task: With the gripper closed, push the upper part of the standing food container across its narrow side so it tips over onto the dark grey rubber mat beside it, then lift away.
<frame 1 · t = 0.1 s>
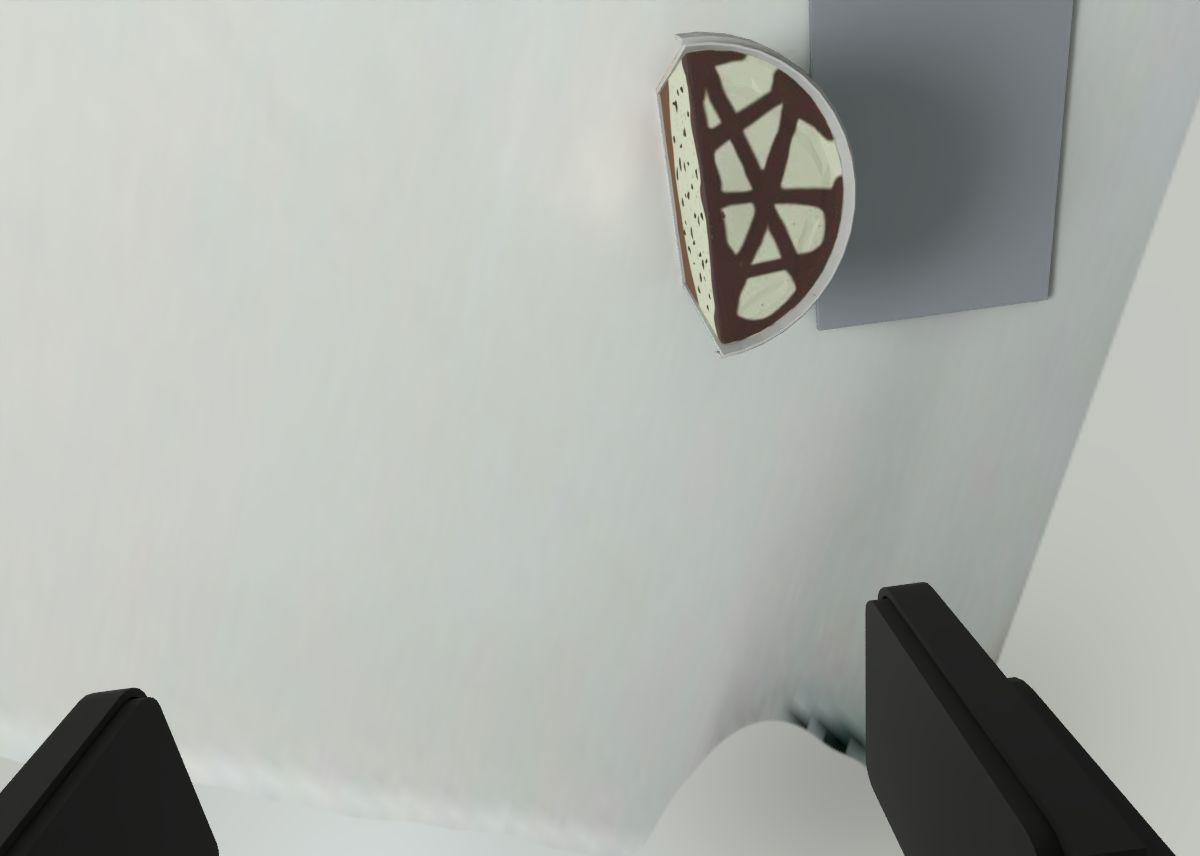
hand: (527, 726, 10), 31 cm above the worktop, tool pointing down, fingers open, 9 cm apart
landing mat: (934, 153, 37), on the worktop
food container: (730, 180, 38), on the worktop
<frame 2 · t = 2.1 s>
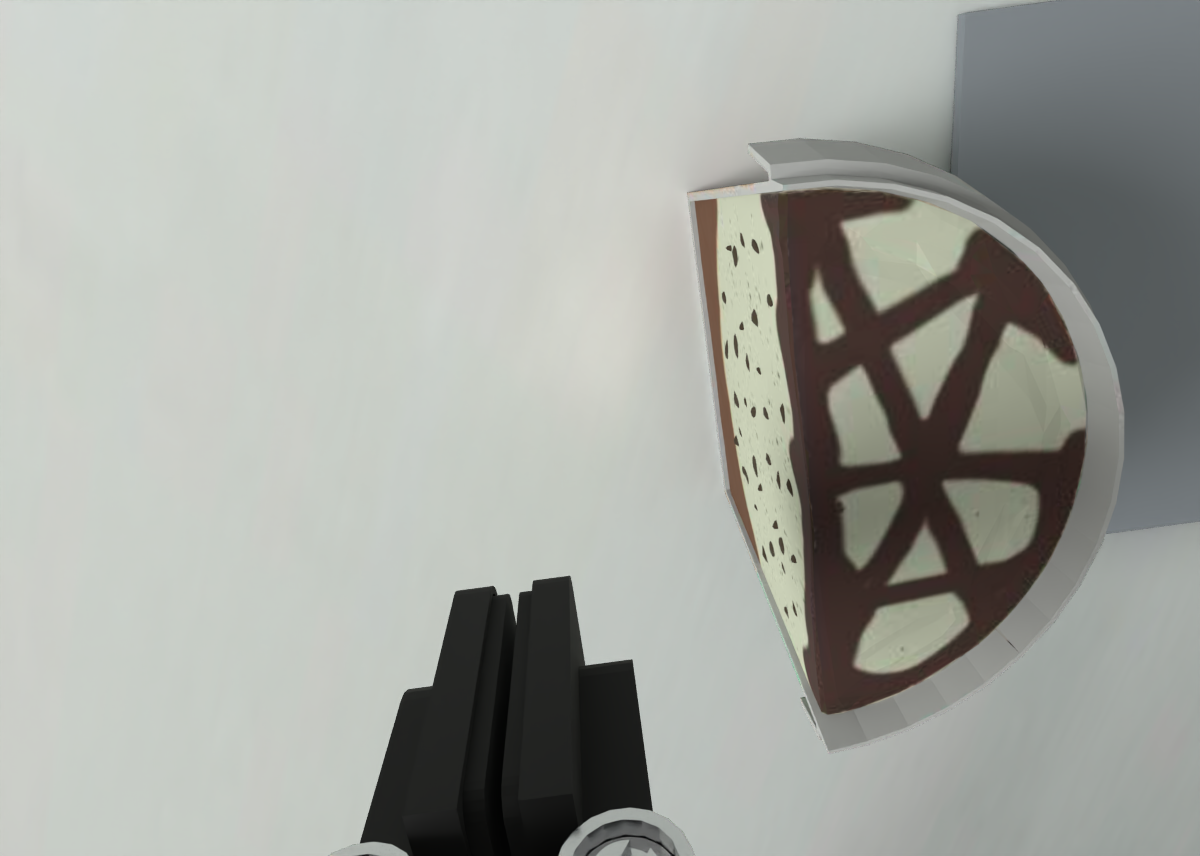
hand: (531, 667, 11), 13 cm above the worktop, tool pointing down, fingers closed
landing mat: (1145, 290, 23), on the worktop
food container: (807, 333, 23), on the worktop
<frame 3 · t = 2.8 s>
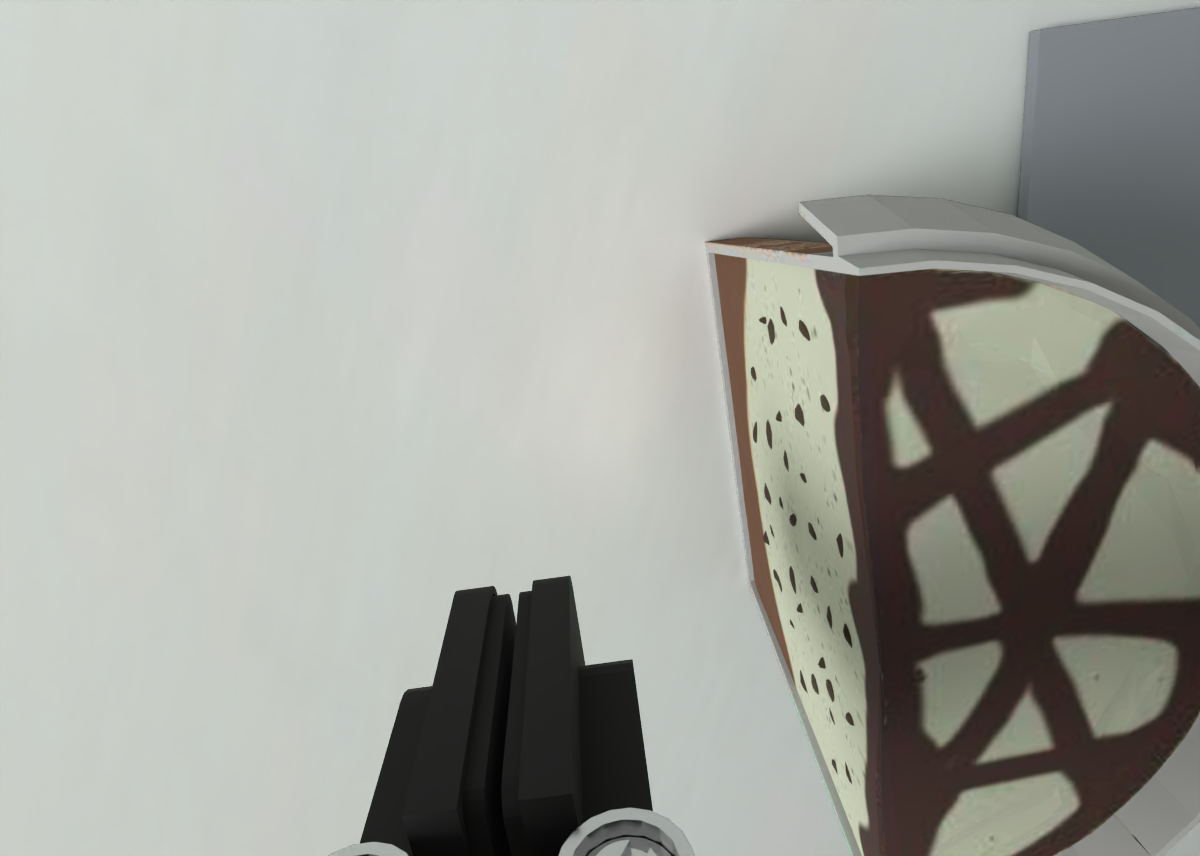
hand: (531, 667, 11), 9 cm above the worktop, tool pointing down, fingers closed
food container: (845, 402, 20), on the worktop
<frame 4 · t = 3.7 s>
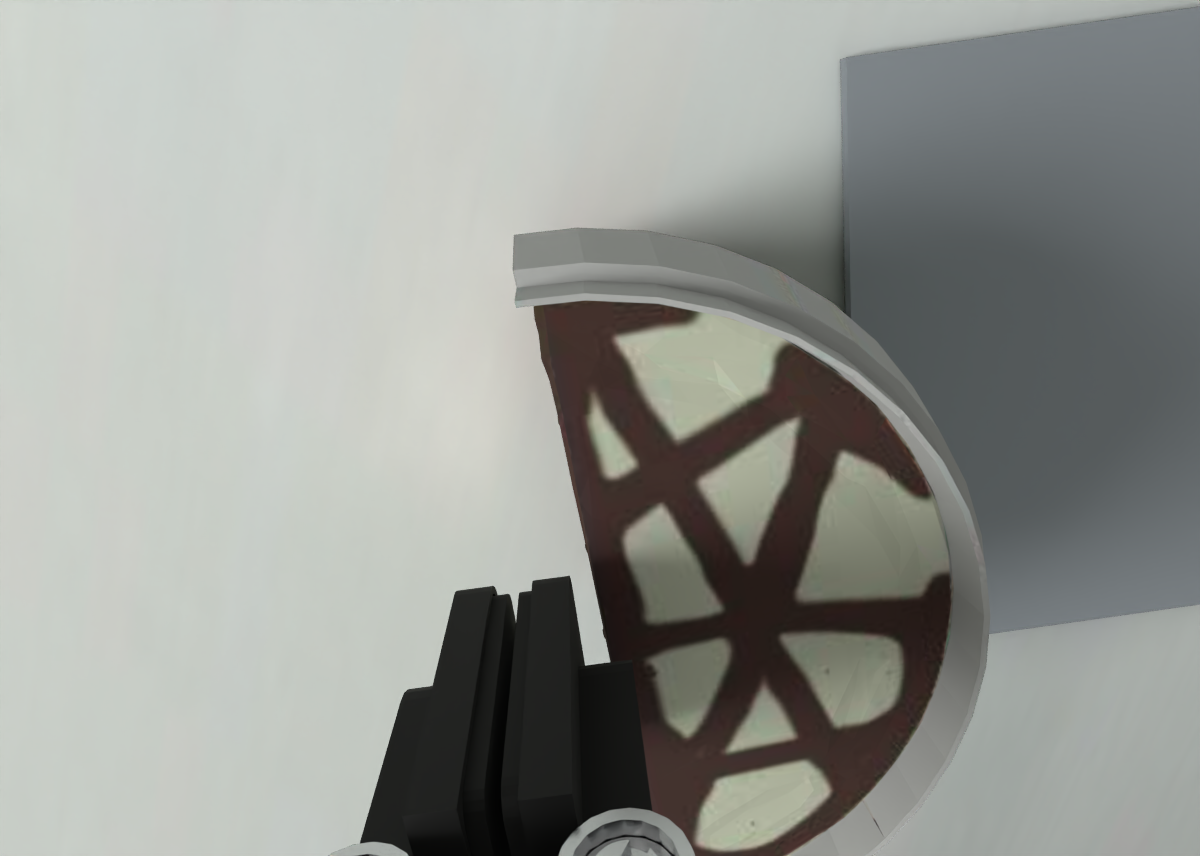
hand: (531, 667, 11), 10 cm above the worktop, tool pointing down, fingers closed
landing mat: (1073, 360, 20), on the worktop
food container: (695, 411, 20), on the worktop, touching gripper
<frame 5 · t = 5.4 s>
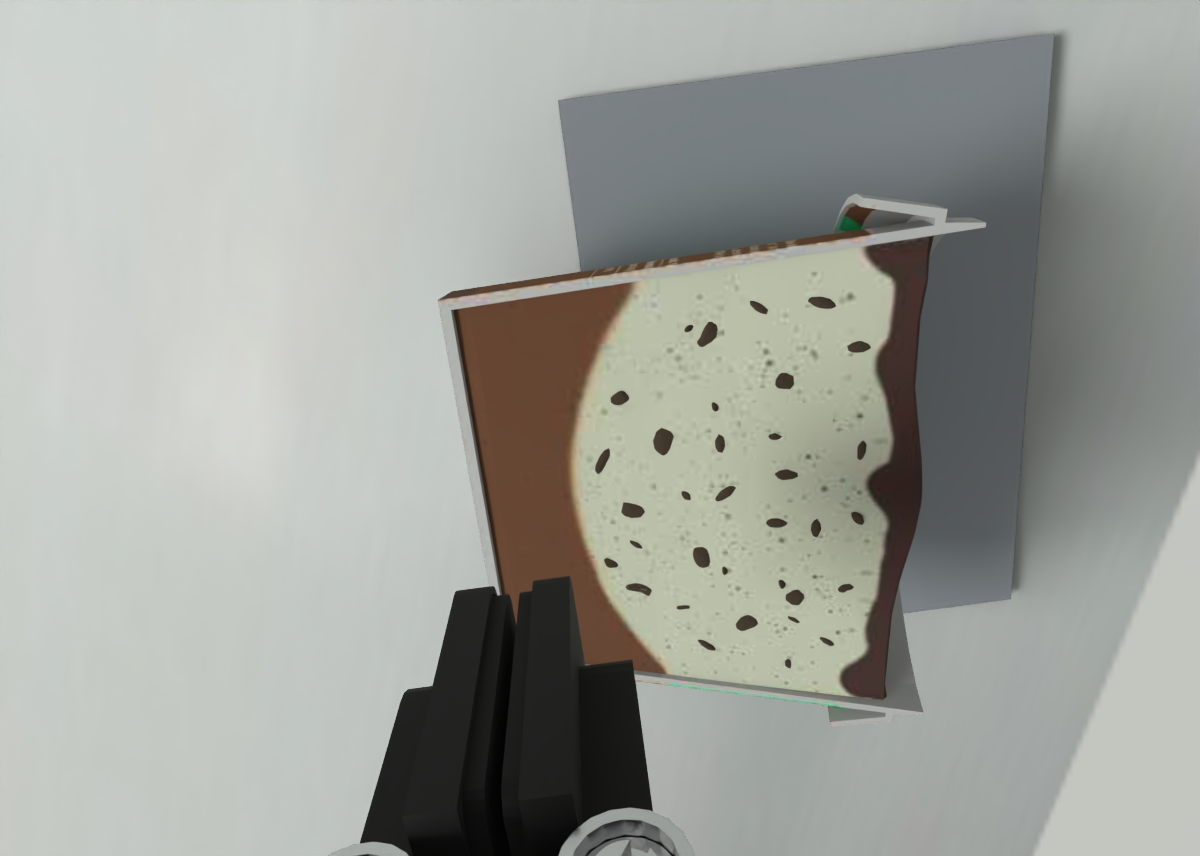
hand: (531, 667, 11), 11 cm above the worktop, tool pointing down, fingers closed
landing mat: (810, 378, 22), on the worktop
food container: (502, 441, 20), point 2 cm above the worktop, touching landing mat
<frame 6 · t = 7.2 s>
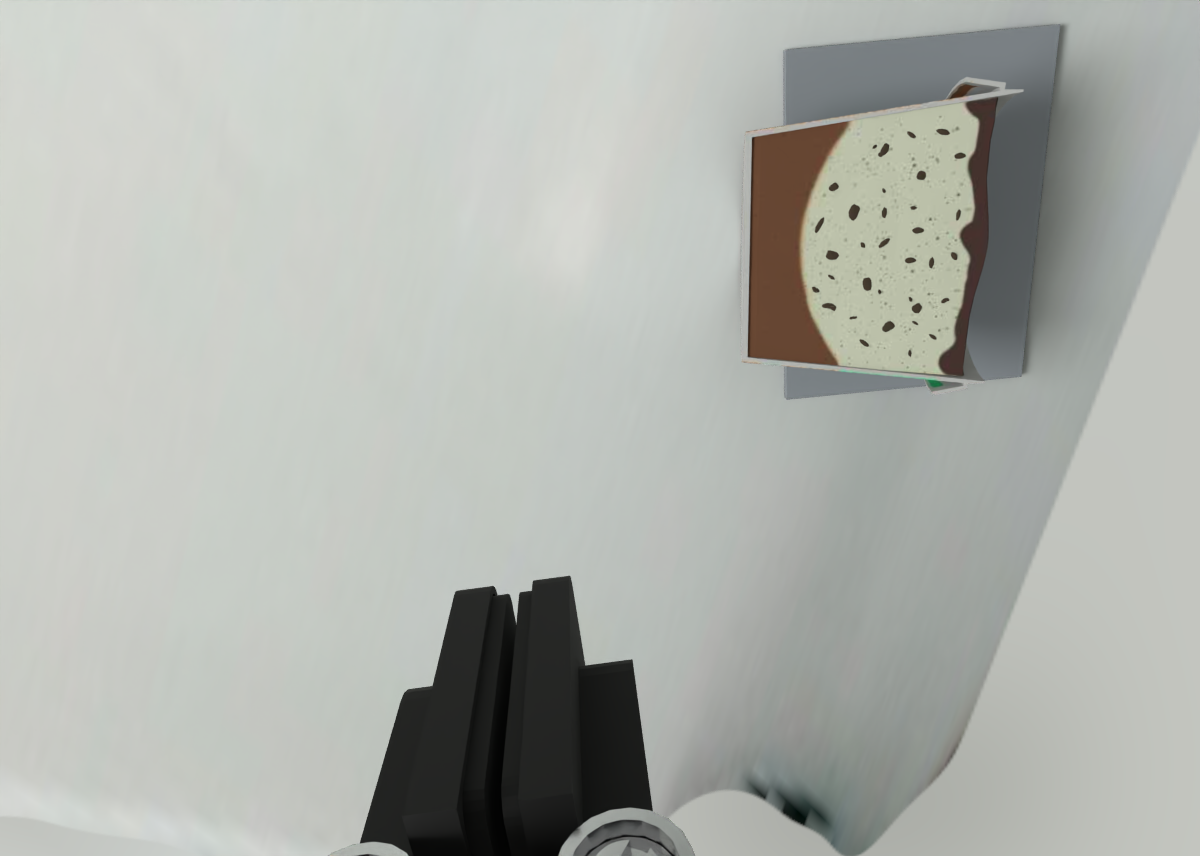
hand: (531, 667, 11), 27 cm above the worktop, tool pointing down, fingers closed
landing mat: (909, 225, 36), on the worktop
food container: (737, 243, 34), point 2 cm above the worktop, touching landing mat
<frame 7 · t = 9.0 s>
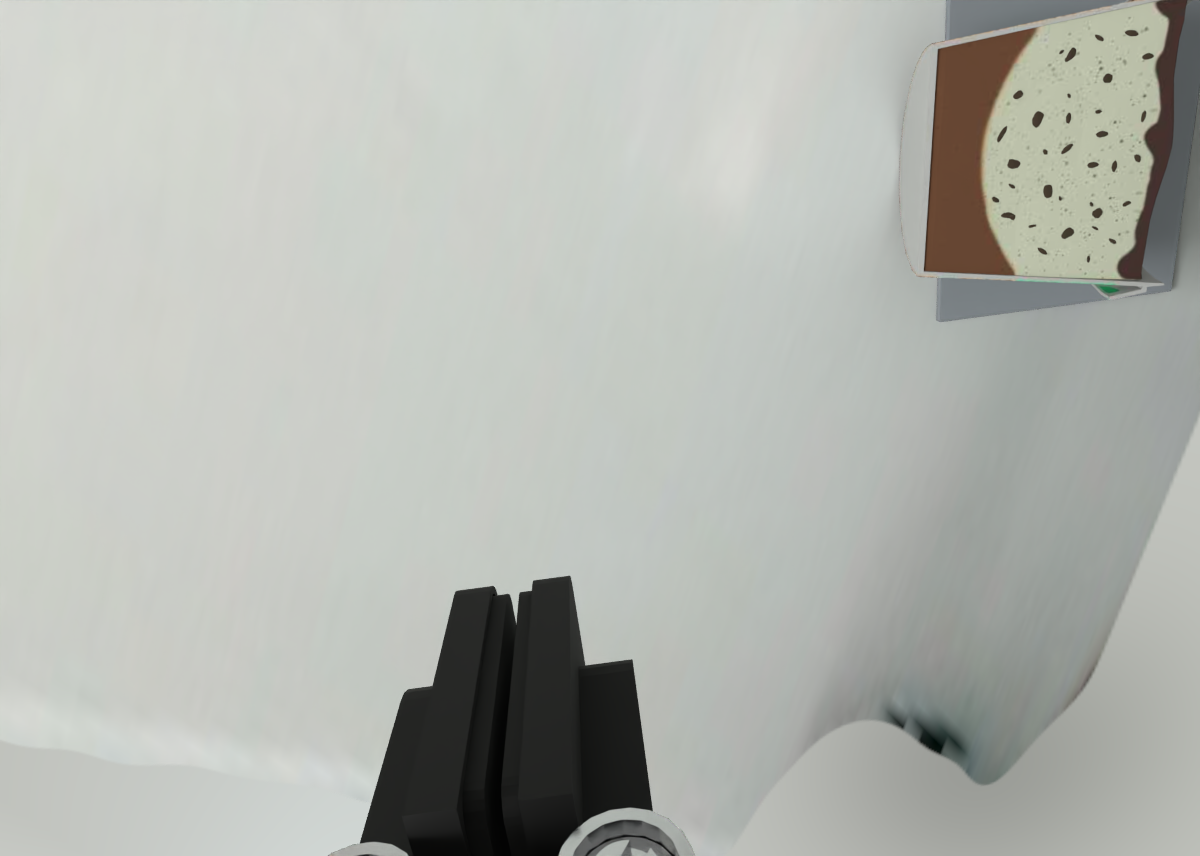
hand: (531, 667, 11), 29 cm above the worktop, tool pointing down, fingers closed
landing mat: (1064, 142, 37), on the worktop
food container: (903, 163, 35), point 2 cm above the worktop, touching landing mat
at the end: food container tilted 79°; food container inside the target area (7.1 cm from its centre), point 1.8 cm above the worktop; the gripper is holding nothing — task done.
